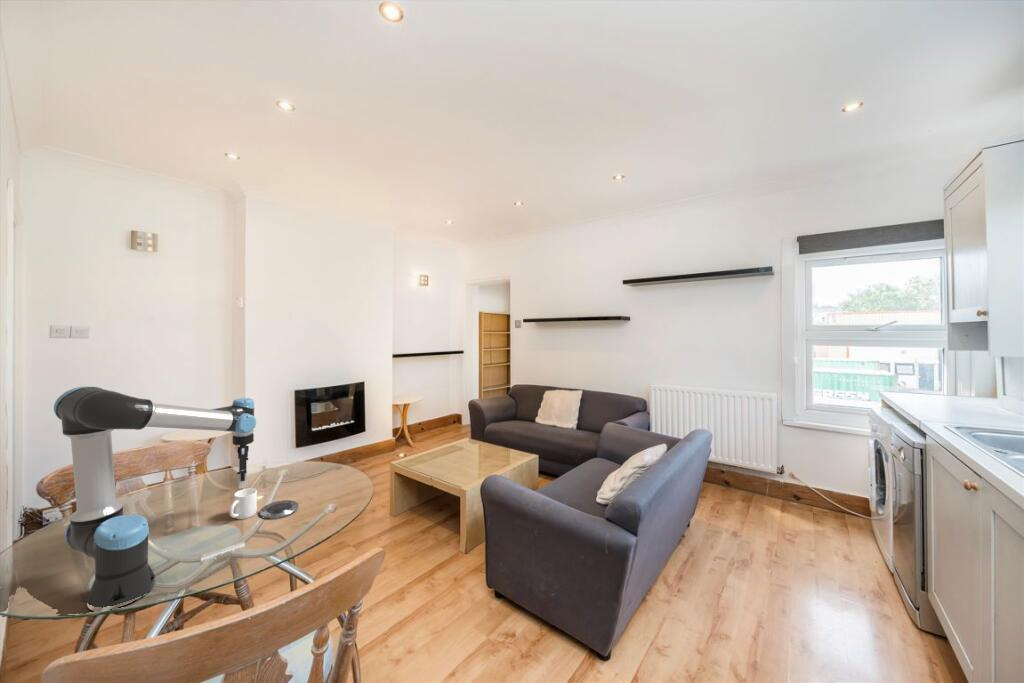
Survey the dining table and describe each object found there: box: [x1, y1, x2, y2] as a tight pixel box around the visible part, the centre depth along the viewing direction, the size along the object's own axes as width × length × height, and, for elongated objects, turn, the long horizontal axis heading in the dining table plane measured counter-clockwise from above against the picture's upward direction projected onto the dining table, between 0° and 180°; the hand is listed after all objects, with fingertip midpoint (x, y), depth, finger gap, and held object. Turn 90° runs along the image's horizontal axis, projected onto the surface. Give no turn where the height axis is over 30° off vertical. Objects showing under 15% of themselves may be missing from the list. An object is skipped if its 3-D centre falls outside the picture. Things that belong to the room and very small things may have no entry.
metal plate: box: [259, 499, 299, 520], centre depth 173 cm, size 15×15×1 cm
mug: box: [229, 487, 258, 520], centre depth 166 cm, size 12×8×10 cm
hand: (242, 481), depth 165 cm, fingers open, 13 cm apart
